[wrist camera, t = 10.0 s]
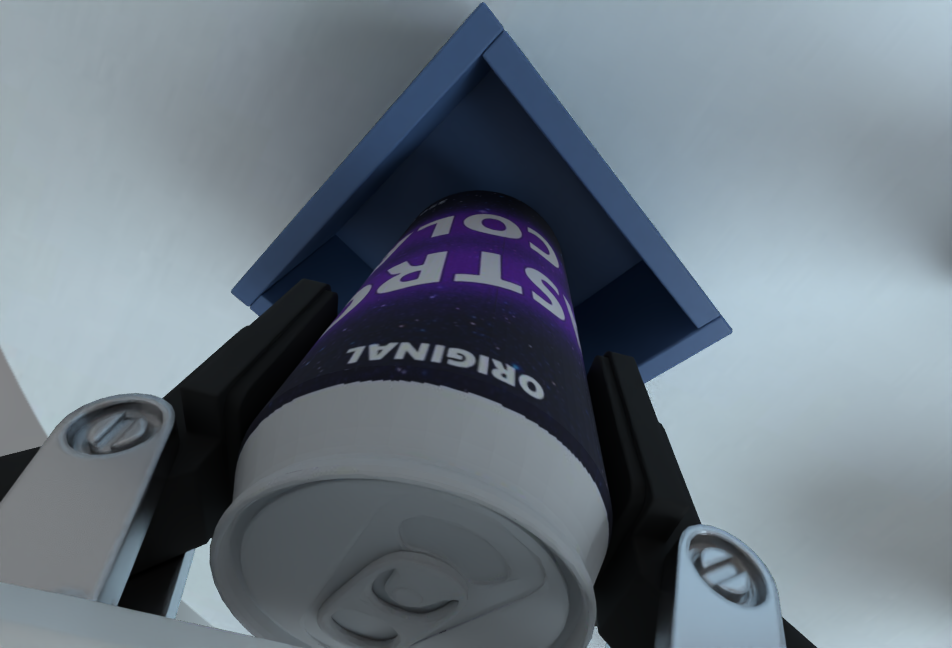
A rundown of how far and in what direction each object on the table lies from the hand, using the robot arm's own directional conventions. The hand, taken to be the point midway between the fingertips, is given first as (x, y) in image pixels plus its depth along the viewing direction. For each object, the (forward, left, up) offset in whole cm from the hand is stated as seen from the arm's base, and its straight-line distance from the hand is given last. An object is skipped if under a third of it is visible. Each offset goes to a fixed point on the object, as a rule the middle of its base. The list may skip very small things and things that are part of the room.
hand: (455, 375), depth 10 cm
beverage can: (0, 0, -7) cm, 7 cm away
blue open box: (0, 0, -10) cm, 10 cm away
